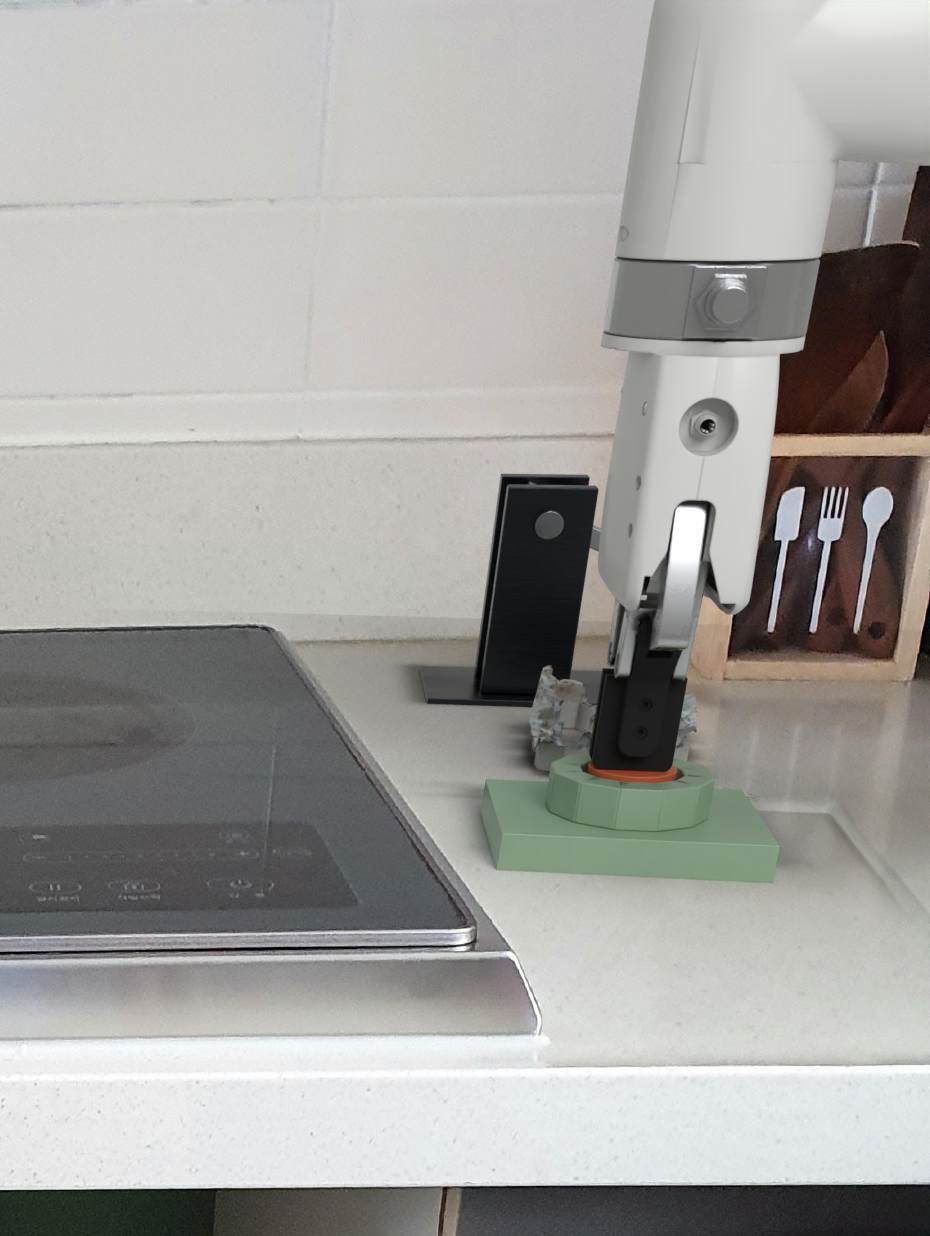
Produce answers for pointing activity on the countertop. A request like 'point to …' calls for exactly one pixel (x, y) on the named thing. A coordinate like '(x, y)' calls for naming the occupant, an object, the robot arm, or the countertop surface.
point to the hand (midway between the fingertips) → (629, 765)
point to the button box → (627, 826)
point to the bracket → (528, 595)
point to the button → (633, 775)
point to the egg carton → (580, 720)
